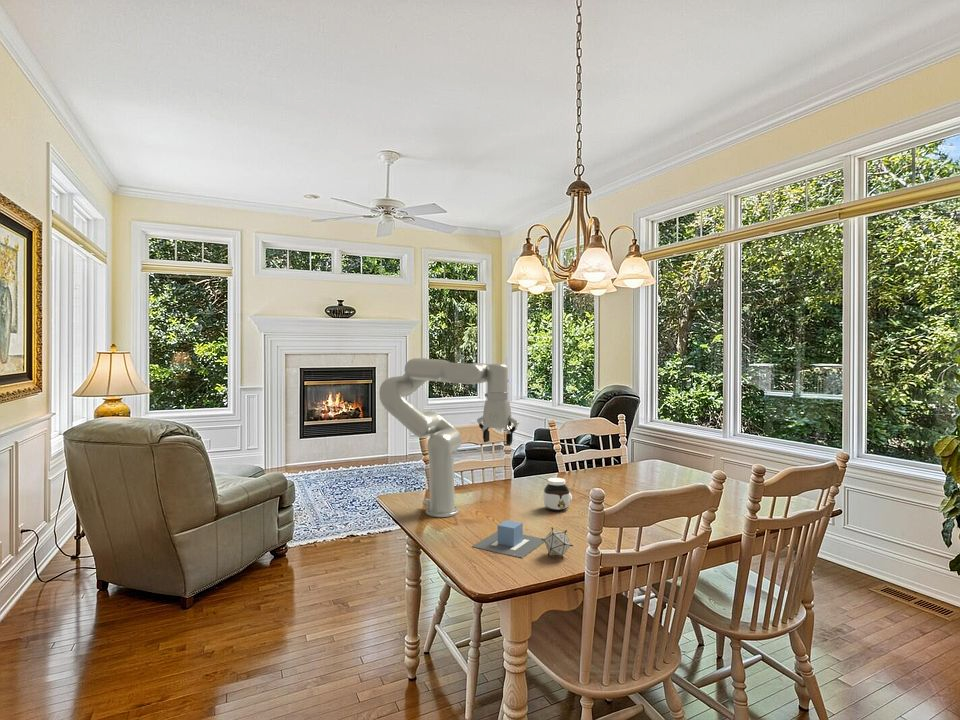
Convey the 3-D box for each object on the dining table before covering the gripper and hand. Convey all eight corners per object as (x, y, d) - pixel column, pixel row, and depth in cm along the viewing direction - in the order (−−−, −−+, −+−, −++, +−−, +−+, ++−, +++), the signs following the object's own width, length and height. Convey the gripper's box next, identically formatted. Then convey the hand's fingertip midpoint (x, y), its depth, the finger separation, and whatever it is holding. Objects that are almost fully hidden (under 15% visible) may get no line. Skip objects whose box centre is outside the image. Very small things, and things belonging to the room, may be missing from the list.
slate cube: (497, 543, 171) (497, 525, 171) (506, 537, 176) (506, 520, 176) (514, 547, 168) (513, 528, 168) (522, 541, 173) (522, 523, 173)
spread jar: (545, 512, 205) (545, 482, 205) (541, 503, 216) (541, 475, 216) (576, 512, 205) (576, 482, 205) (570, 503, 216) (570, 475, 216)
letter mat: (472, 546, 169) (472, 545, 169) (499, 530, 184) (499, 529, 184) (522, 558, 160) (522, 557, 160) (547, 539, 175) (547, 539, 175)
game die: (542, 556, 165) (532, 536, 160) (559, 536, 169) (550, 516, 164) (564, 569, 159) (554, 549, 154) (581, 548, 162) (572, 528, 157)
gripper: (472, 396, 198) (472, 442, 198) (513, 398, 189) (513, 446, 189) (482, 395, 204) (483, 439, 205) (522, 397, 195) (523, 443, 196)
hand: (497, 442), depth 197 cm, fingers open, 9 cm apart
